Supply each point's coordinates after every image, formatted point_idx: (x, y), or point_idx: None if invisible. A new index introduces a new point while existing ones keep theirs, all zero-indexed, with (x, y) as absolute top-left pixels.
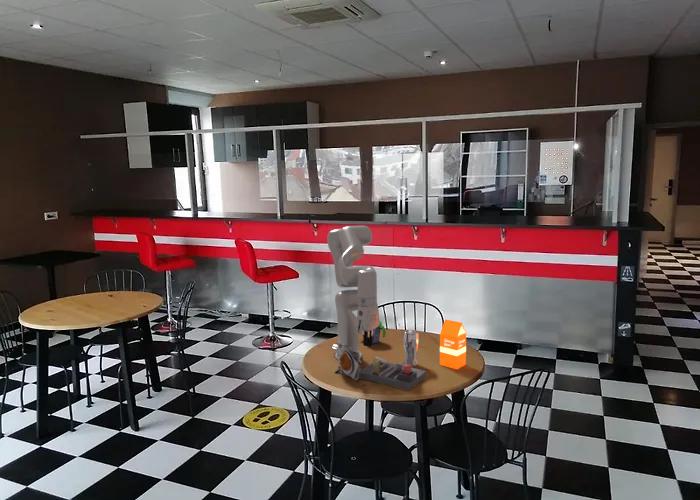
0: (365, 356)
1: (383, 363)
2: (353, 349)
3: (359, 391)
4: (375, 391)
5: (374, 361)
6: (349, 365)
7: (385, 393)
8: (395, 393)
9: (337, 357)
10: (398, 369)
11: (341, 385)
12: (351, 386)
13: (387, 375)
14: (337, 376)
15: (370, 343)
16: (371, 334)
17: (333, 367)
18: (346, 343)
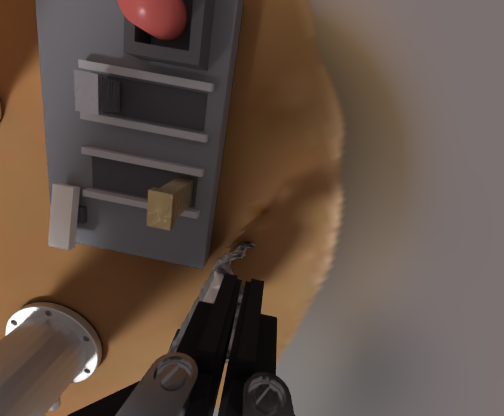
0: (21, 292)
1: (78, 198)
2: (39, 349)
3: (327, 209)
4: (307, 149)
5: (172, 219)
6: None
7: (313, 100)
8: (299, 55)
9: (95, 368)
10: (114, 101)
11: (295, 285)
12: (292, 251)
13: (196, 133)
14: None
15: (256, 298)
16: (196, 380)
17: (163, 353)
18: (36, 395)
